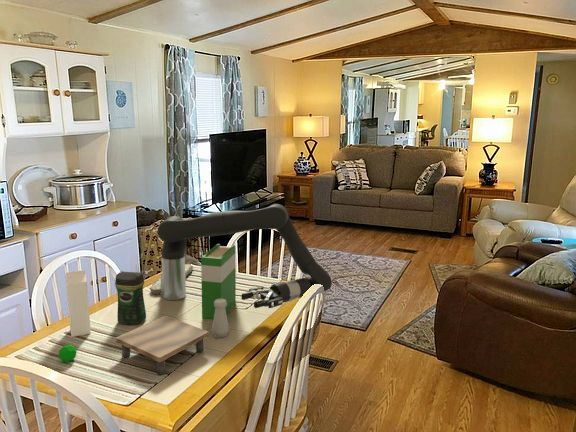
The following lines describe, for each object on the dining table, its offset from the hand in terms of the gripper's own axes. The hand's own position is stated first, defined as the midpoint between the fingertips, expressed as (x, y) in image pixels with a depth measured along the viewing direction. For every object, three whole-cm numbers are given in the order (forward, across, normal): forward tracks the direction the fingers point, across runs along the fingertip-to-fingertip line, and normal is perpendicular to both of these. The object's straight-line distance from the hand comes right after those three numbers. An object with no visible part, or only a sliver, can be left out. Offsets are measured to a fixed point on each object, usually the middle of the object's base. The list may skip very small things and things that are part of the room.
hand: (248, 301), depth 166 cm
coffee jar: (+33, -27, +10) cm, 44 cm away
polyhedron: (+58, -11, +10) cm, 59 cm away
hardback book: (+2, -18, +10) cm, 21 cm away
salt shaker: (+11, 0, +10) cm, 15 cm away
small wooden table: (+32, +1, +10) cm, 33 cm away
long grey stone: (+4, -57, +11) cm, 58 cm away
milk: (+50, -28, +10) cm, 58 cm away
